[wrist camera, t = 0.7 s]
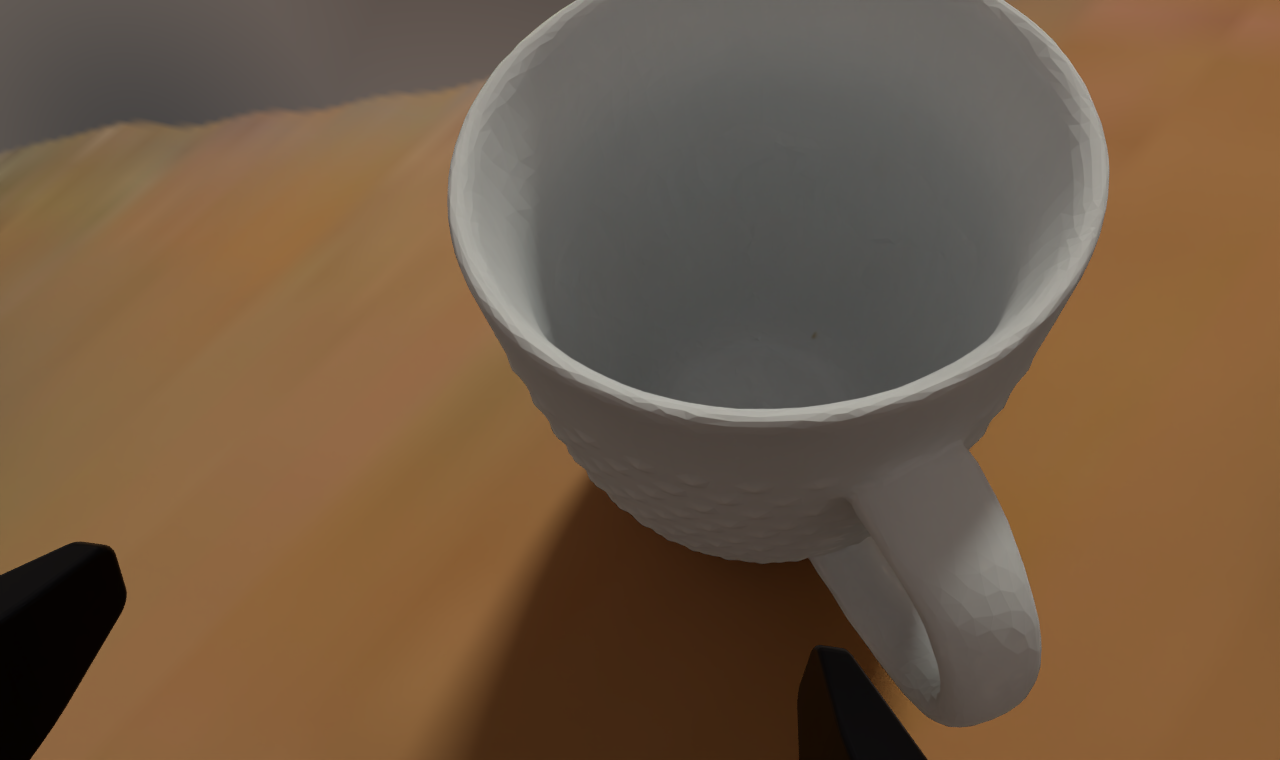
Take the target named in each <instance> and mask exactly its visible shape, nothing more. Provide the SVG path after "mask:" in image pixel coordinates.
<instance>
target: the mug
mask: <svg viewBox="0 0 1280 760" xmlns="http://www.w3.org/2000/svg"><path fill="white" fill-rule="evenodd" d="M1108 186H1109V158H1108V151H1107V145H1106V141H1105V137H1104V132H1103V128H1102V124H1101V121H1100V119H1099V116H1098V114H1097V111H1096V109H1095V106H1094V104H1093V101H1092V99H1091V97H1090V94H1089V92H1088V90H1087V87H1086V85H1085V84H1084V82H1083V80H1082V79H1081V77H1080V76H1079V74H1078V73H1077V71H1076V70H1075V68H1074V66H1073V65H1072V63H1071V62H1070V61H1069V59H1068V58H1067V57H1066V55H1065V54H1064V53H1063V52H1062V51H1061V49H1060V48H1059V47H1058V45H1057V44H1056V43H1055V42H1054V41H1053V40H1052V39H1051V38H1050V37H1049V36H1048V35H1047V34H1046V33H1045V32H1044V31H1043V30H1042V29H1041V28H1040V27H1039V26H1037V25H1036V24H1035V23H1034V22H1033V21H1031V20H1030V19H1029V18H1028V17H1026V16H1025V15H1024V14H1022V13H1021V12H1020V11H1018V10H1017V9H1015V8H1014V7H1013V6H1011V5H1010V4H1008V3H1007V2H1005V1H1004V0H576V1H575V2H573V3H571V4H570V5H568V6H566V7H565V8H563V9H562V10H560V11H559V12H557V13H556V14H555V15H553V16H552V17H550V18H549V19H548V20H547V21H545V22H544V23H542V24H541V25H540V26H539V27H537V28H536V29H535V30H534V31H533V32H532V33H530V34H529V35H528V36H527V37H526V38H525V39H523V40H522V41H521V42H520V43H519V44H518V45H517V46H516V47H515V49H514V50H513V51H512V52H511V53H510V55H508V56H507V57H506V58H505V59H504V60H503V61H502V62H501V63H500V64H499V65H498V66H497V68H496V69H495V70H494V72H493V73H492V74H491V76H490V77H489V79H488V80H487V82H486V83H485V85H484V86H483V88H482V89H481V91H480V92H479V94H478V96H477V97H476V99H475V101H474V102H473V104H472V106H471V108H470V110H469V112H468V114H467V116H466V118H465V120H464V123H463V125H462V128H461V131H460V133H459V136H458V139H457V142H456V145H455V148H454V152H453V156H452V160H451V165H450V171H449V178H448V220H449V226H450V233H451V239H452V243H453V247H454V252H455V255H456V258H457V260H458V263H459V266H460V269H461V271H462V274H463V276H464V278H465V281H466V283H467V285H468V287H469V290H470V291H471V293H472V295H473V297H474V298H475V300H476V302H477V304H478V305H479V307H480V309H481V311H482V312H483V314H484V316H485V318H486V319H487V321H488V323H489V325H490V326H491V328H492V330H493V331H494V334H495V336H496V337H497V339H498V340H499V342H500V344H501V345H502V347H503V349H504V351H505V352H506V354H507V357H508V360H509V363H510V366H511V368H512V370H513V371H514V372H515V373H516V374H517V375H518V376H519V377H520V378H521V379H522V381H523V382H524V383H525V384H526V386H527V388H528V390H529V392H530V394H531V398H532V401H533V403H534V405H535V406H536V407H537V408H538V409H539V410H540V411H541V412H542V413H543V414H544V415H545V416H546V418H547V419H548V421H549V422H550V425H551V428H552V431H553V433H554V434H555V435H556V436H557V438H558V439H559V440H561V441H562V442H563V443H565V444H566V446H567V449H568V452H569V454H570V455H571V456H572V457H573V459H574V461H575V462H576V463H578V464H579V465H580V466H582V467H583V468H585V470H586V471H587V474H588V476H589V479H590V480H591V481H592V482H593V483H594V484H595V485H596V486H597V487H598V488H600V489H602V490H604V491H605V492H606V493H607V494H608V496H609V497H610V499H611V500H612V502H614V503H616V505H617V506H618V507H619V508H620V509H622V510H624V511H627V512H629V513H630V514H631V515H632V516H633V517H634V518H635V519H636V520H637V521H638V522H639V523H640V524H641V525H643V526H645V527H648V528H651V529H653V530H654V531H655V532H656V533H657V534H659V535H662V536H663V537H664V538H665V539H667V540H668V541H673V542H677V543H679V544H680V545H684V546H686V547H687V548H689V549H690V550H692V551H696V552H701V553H703V554H708V555H711V556H719V557H721V558H723V559H726V560H741V561H744V562H756V563H760V564H766V563H772V562H776V563H781V562H787V561H794V562H798V561H800V560H803V559H806V558H808V559H809V560H810V561H811V563H812V564H813V566H814V568H815V570H816V571H817V573H818V574H819V576H820V577H821V579H822V580H823V581H824V583H825V584H826V586H827V587H828V589H829V590H830V592H831V593H832V595H833V596H834V598H835V600H836V601H837V603H838V605H839V606H840V608H841V610H842V611H843V613H844V615H845V616H846V618H847V619H848V621H849V622H850V623H851V625H852V626H853V627H854V629H855V630H856V631H857V633H858V634H859V635H860V637H861V638H862V639H863V641H864V642H865V644H866V645H867V646H868V648H869V649H870V651H871V652H872V653H873V655H874V656H875V658H876V659H877V660H878V662H879V663H880V664H881V666H882V667H883V668H884V669H885V671H886V672H887V673H888V675H889V676H890V677H891V678H892V680H893V681H894V682H895V684H896V685H897V686H898V687H899V689H900V690H901V691H902V692H903V693H904V695H905V696H906V697H907V698H908V699H909V700H910V701H911V702H912V703H913V704H914V705H915V706H916V707H917V708H918V709H919V710H920V711H921V712H922V713H924V714H925V715H926V716H927V717H928V718H930V719H932V720H933V721H935V722H938V723H940V724H943V725H945V726H948V727H968V726H974V725H977V724H980V723H983V722H986V721H990V720H992V719H994V718H997V717H999V716H1001V715H1003V714H1005V713H1007V712H1008V711H1010V710H1012V709H1013V708H1015V707H1016V706H1017V705H1019V704H1020V703H1021V702H1022V701H1023V700H1024V699H1025V698H1026V697H1027V695H1028V694H1029V692H1030V690H1031V689H1032V687H1033V685H1034V684H1035V682H1036V680H1037V676H1038V673H1039V669H1040V664H1041V634H1040V627H1039V619H1038V615H1037V611H1036V607H1035V603H1034V599H1033V595H1032V592H1031V588H1030V585H1029V581H1028V578H1027V574H1026V571H1025V568H1024V564H1023V562H1022V559H1021V556H1020V553H1019V551H1018V548H1017V545H1016V542H1015V540H1014V537H1013V534H1012V531H1011V529H1010V526H1009V523H1008V520H1007V518H1006V516H1005V514H1004V512H1003V510H1002V508H1001V506H1000V504H999V502H998V499H997V497H996V495H995V494H994V492H993V490H992V488H991V486H990V484H989V483H988V481H987V479H986V477H985V475H984V473H983V471H982V470H981V468H980V466H979V464H978V462H977V461H976V460H975V458H974V457H973V456H972V454H971V453H970V452H969V451H968V450H969V449H970V448H971V447H972V446H973V445H974V444H975V443H976V442H978V441H979V439H980V438H981V437H982V436H983V435H984V434H985V432H986V429H987V427H988V425H989V423H990V422H991V420H992V419H993V418H994V417H995V416H996V415H997V414H998V413H999V412H1000V411H1001V410H1002V409H1003V408H1004V406H1005V404H1006V402H1007V400H1008V398H1009V395H1010V393H1011V392H1012V390H1013V388H1014V387H1015V385H1016V384H1017V383H1018V382H1019V381H1020V379H1021V378H1022V377H1023V376H1024V375H1025V374H1026V372H1027V371H1028V370H1029V368H1030V365H1031V363H1032V360H1033V358H1034V356H1035V354H1036V352H1037V351H1038V349H1039V347H1040V346H1041V344H1042V343H1043V341H1044V339H1045V338H1046V336H1047V334H1048V333H1049V331H1050V330H1051V328H1052V326H1053V325H1054V323H1055V321H1056V320H1057V318H1058V316H1059V315H1060V313H1061V311H1062V310H1063V308H1064V306H1065V304H1066V303H1067V301H1068V299H1069V298H1070V296H1071V294H1072V293H1073V291H1074V289H1075V288H1076V286H1077V284H1078V283H1079V281H1080V279H1081V277H1082V275H1083V273H1084V271H1085V269H1086V267H1087V265H1088V263H1089V261H1090V259H1091V257H1092V254H1093V252H1094V249H1095V246H1096V244H1097V241H1098V238H1099V236H1100V232H1101V228H1102V224H1103V220H1104V215H1105V211H1106V205H1107V198H1108Z"/></svg>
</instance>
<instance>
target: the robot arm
mask: <svg viewBox="0 0 1280 760" xmlns="http://www.w3.org/2000/svg"><path fill="white" fill-rule="evenodd" d="M126 597H127V591H126V587H125V584H124V580H123V577H122V574H121V570H120V567H119V564H118V560H117V557H116V554H115V552H114V550H113V549H112V548H111V547H110V546H107V545H102V544H95V543H88V542H74V543H70V544H68V545H65V546H63V547H61V548H59V549H57V550H54V551H52V552H50V553H48V554H46V555H44V556H41V557H39V558H37V559H35V560H33V561H30V562H28V563H26V564H24V565H22V566H20V567H17V568H15V569H13V570H11V571H9V572H7V573H4V574H2V575H0V760H30V759H31V758H32V756H33V755H34V753H35V752H36V751H37V749H38V748H39V746H40V745H41V744H42V742H43V741H44V739H45V738H46V736H47V735H48V734H49V732H50V731H51V729H52V728H53V726H54V725H55V723H56V722H57V720H58V719H59V717H60V715H61V714H62V712H63V711H64V709H65V707H66V706H67V704H68V703H69V701H70V699H71V697H72V696H73V694H74V692H75V691H76V689H77V687H78V686H79V684H80V682H81V681H82V679H83V677H84V675H85V674H86V672H87V670H88V669H89V667H90V665H91V664H92V662H93V660H94V658H95V657H96V655H97V653H98V652H99V650H100V648H101V647H102V645H103V643H104V641H105V640H106V638H107V636H108V635H109V633H110V631H111V630H112V628H113V626H114V624H115V623H116V621H117V619H118V618H119V616H120V614H121V613H122V610H123V608H124V606H125V602H126ZM797 711H798V739H799V760H927V758H926V757H925V755H924V754H923V753H922V751H921V750H920V749H919V747H918V746H917V744H916V743H915V742H914V740H913V739H912V738H911V736H910V735H909V733H908V732H907V731H906V729H905V728H904V726H903V725H902V724H901V722H900V721H899V720H898V718H897V717H896V715H895V714H894V713H893V711H892V710H891V709H890V707H889V706H888V704H887V703H886V702H885V700H884V699H883V697H882V696H881V695H880V693H879V692H878V691H877V689H876V688H875V686H874V685H873V684H872V682H871V681H870V680H869V678H868V677H867V675H866V674H865V673H864V671H863V670H862V668H861V667H860V666H859V664H858V663H857V662H856V660H855V659H854V657H853V656H852V655H851V654H850V653H849V652H848V651H847V650H846V649H843V648H837V647H830V646H823V645H817V646H815V647H814V648H813V650H812V652H811V654H810V657H809V660H808V663H807V666H806V669H805V671H804V674H803V677H802V680H801V683H800V686H799V691H798V700H797Z"/></svg>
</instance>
